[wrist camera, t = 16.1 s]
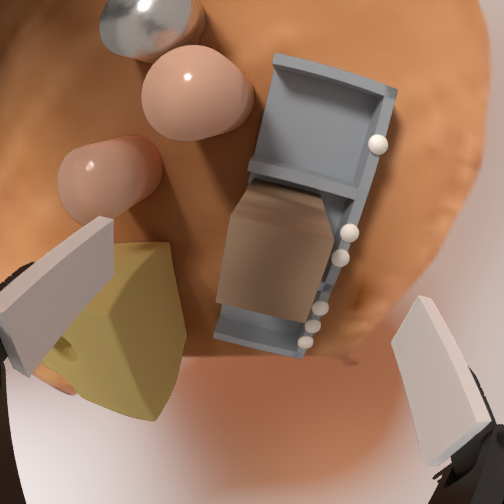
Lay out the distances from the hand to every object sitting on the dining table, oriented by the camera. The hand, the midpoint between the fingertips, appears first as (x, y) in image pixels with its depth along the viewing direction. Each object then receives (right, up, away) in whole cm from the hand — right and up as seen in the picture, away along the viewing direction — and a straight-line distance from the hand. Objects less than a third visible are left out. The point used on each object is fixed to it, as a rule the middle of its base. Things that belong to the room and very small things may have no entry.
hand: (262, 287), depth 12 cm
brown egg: (-9, +8, +9) cm, 15 cm away
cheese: (-11, -2, +14) cm, 18 cm away
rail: (+3, +4, +9) cm, 10 cm away
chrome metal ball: (-6, +17, +4) cm, 19 cm away
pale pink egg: (-3, +12, +6) cm, 13 cm away
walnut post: (+2, +4, +9) cm, 10 cm away
